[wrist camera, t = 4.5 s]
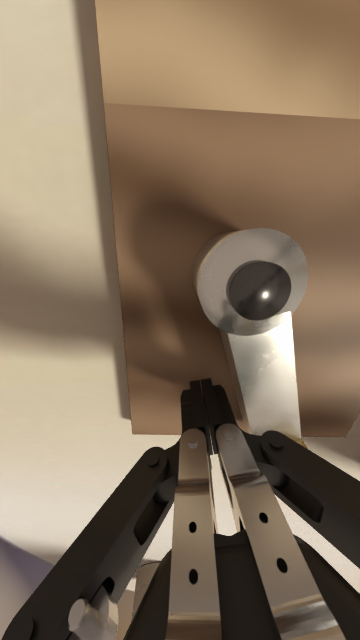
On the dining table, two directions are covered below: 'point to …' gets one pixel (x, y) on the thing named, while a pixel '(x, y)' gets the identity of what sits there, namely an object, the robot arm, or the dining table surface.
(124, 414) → the dining table surface
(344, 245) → the door board
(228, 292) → the latch bar
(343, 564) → the dining table surface
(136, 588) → the thermos bottle
